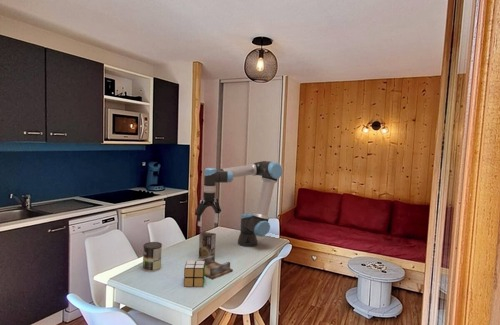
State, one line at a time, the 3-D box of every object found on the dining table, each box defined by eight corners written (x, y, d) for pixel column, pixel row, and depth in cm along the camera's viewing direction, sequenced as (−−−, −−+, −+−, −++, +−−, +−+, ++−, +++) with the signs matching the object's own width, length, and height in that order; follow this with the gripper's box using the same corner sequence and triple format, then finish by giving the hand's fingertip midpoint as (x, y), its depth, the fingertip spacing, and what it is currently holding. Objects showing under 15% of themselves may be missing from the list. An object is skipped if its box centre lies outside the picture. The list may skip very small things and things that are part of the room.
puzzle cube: (186, 278, 161) (186, 260, 161) (204, 278, 162) (205, 260, 161) (183, 287, 151) (184, 268, 151) (203, 287, 152) (203, 268, 151)
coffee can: (143, 272, 165) (144, 248, 164) (142, 265, 174) (142, 242, 174) (162, 270, 169) (163, 246, 168) (160, 263, 179) (160, 241, 178)
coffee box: (215, 257, 193) (216, 233, 192) (210, 260, 187) (211, 236, 186) (202, 255, 196) (203, 231, 195) (198, 258, 190) (199, 234, 189)
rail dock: (212, 262, 185) (212, 254, 184) (232, 271, 173) (233, 262, 172) (191, 269, 173) (192, 260, 172) (212, 279, 161) (212, 270, 160)
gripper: (219, 189, 201) (218, 220, 202) (190, 192, 182) (188, 226, 183) (227, 191, 196) (225, 222, 197) (197, 194, 177) (196, 228, 178)
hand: (207, 224), depth 190 cm, fingers open, 13 cm apart
